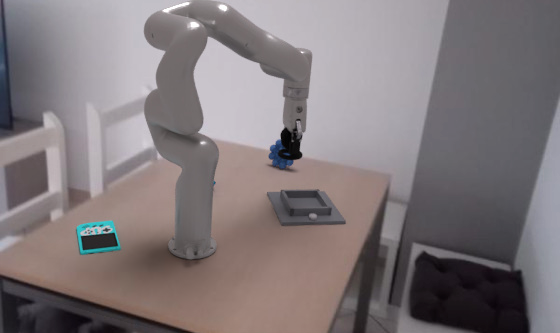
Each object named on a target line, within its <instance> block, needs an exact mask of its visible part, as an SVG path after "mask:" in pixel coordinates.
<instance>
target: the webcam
mask: <svg viewBox="0 0 560 333" xmlns="http://www.w3.org/2000/svg"><path fill="white" fill-rule="evenodd" d="M293 131H296V129H293ZM303 134H304V133H303V132H302V136H301V141H302V140H303ZM293 135H294V136H295V135H296V134H293ZM280 139H281V144H282V146H283V147H284V148H286V149H281V150H279V152H278V156H279V157H280V158H283V159H286V160H293V161H297V160H301V159H302V158H303V156H304V155H303V152H301V151H300V153H299V154H290V155H285V154H283V153H289V143H290V141H291V132H290V131H288V129H287V127H286V128H284V127H283V129H282V130H281V131H280Z"/></svg>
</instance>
